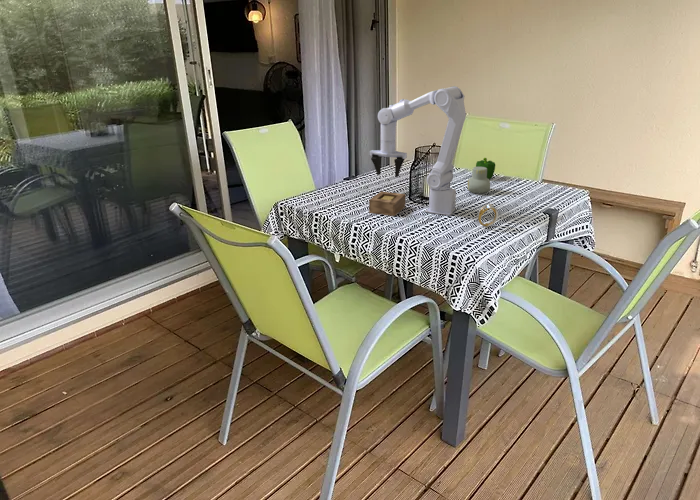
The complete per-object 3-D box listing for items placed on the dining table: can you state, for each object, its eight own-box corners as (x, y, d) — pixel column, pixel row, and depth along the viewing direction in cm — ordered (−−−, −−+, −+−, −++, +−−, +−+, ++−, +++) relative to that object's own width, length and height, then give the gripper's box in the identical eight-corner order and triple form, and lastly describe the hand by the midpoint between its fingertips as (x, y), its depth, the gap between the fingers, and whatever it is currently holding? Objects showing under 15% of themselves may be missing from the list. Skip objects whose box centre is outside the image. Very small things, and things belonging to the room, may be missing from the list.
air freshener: (490, 195, 207) (492, 171, 203) (469, 195, 208) (470, 171, 204) (486, 188, 217) (488, 165, 213) (466, 188, 218) (468, 164, 214)
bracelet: (494, 224, 176) (496, 202, 173) (498, 227, 173) (500, 204, 170) (475, 225, 175) (477, 203, 172) (479, 229, 172) (481, 206, 169)
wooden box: (405, 206, 196) (405, 194, 194) (394, 216, 186) (394, 202, 184) (381, 203, 200) (381, 191, 198) (369, 212, 190) (369, 199, 188)
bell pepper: (482, 175, 236) (484, 154, 232) (497, 178, 230) (499, 156, 226) (470, 178, 231) (472, 156, 227) (485, 182, 225) (487, 160, 221)
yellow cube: (394, 206, 194) (395, 196, 192) (390, 210, 190) (390, 200, 188) (385, 205, 196) (385, 195, 194) (380, 209, 192) (380, 199, 190)
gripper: (366, 140, 193) (366, 176, 199) (402, 143, 187) (401, 179, 193) (373, 137, 199) (373, 171, 204) (409, 140, 193) (408, 175, 198)
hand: (387, 175), depth 199 cm, fingers open, 7 cm apart
